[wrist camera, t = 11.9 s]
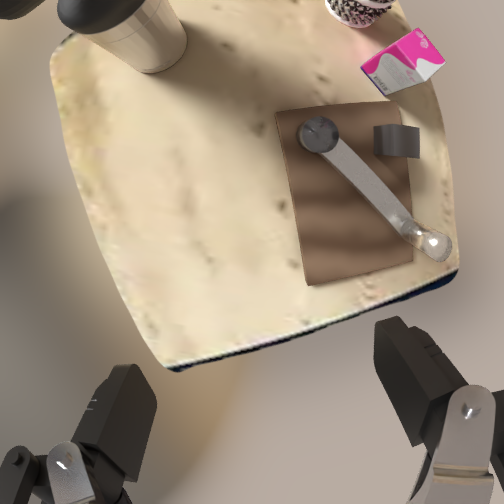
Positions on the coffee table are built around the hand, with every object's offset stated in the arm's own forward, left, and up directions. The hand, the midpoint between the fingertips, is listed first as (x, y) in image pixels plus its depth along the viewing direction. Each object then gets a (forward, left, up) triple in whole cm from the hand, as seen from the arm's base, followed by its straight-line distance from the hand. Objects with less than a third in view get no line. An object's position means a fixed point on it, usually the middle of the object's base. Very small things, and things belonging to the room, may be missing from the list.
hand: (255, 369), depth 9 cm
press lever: (0, +15, -31) cm, 34 cm away
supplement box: (-16, +24, -33) cm, 44 cm away
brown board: (+2, +15, -33) cm, 36 cm away
